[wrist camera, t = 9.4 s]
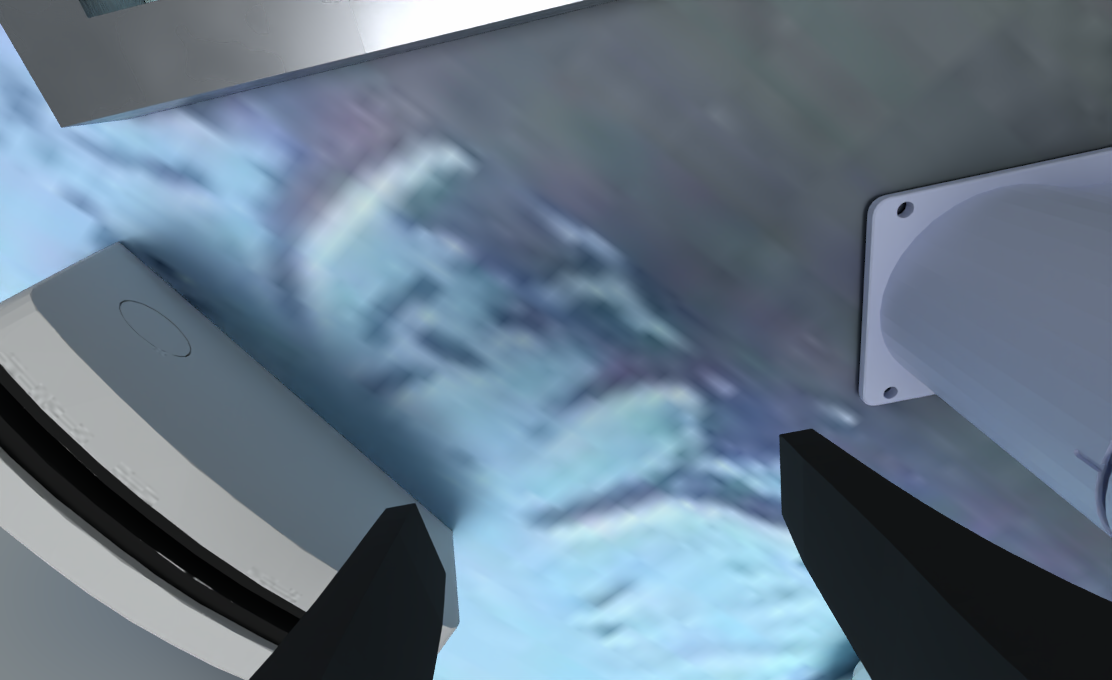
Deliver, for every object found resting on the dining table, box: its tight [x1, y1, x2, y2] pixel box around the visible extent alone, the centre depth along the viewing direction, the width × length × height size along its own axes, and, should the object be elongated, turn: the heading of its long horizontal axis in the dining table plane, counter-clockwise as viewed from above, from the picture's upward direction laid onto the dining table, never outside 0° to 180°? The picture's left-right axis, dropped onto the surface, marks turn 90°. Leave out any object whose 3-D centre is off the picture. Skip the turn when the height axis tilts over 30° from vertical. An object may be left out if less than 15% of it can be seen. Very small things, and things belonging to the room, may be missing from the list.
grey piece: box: [0, 242, 459, 680], centre depth 17 cm, size 17×5×10 cm, turn 36°
